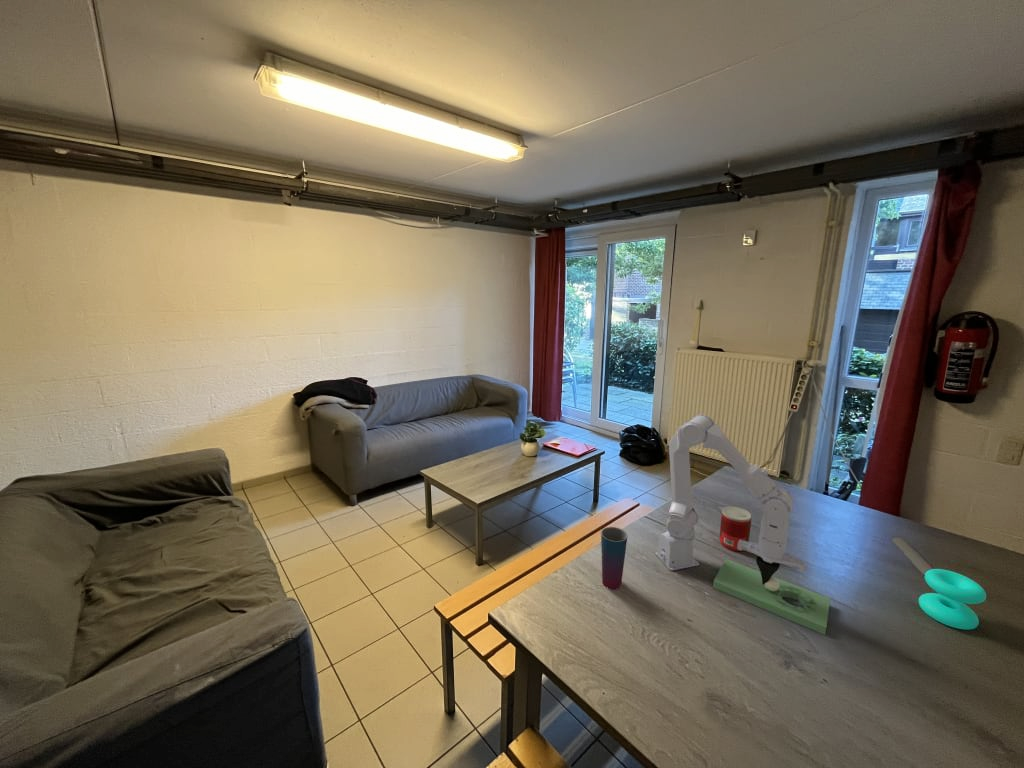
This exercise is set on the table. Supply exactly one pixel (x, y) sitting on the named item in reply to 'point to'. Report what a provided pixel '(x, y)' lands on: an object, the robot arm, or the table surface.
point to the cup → (613, 556)
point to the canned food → (734, 527)
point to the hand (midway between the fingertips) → (765, 583)
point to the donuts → (952, 598)
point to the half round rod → (912, 555)
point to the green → (774, 596)
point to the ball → (772, 584)
